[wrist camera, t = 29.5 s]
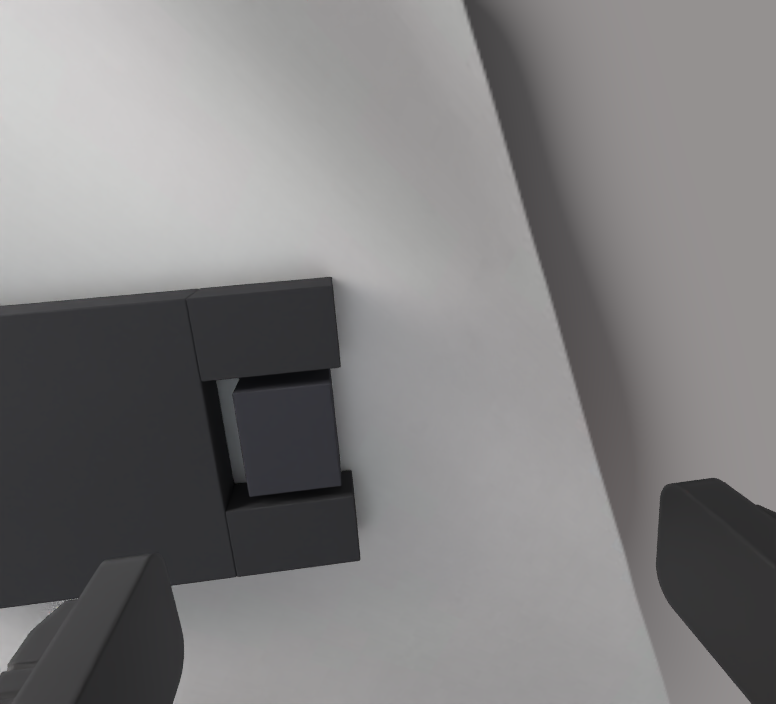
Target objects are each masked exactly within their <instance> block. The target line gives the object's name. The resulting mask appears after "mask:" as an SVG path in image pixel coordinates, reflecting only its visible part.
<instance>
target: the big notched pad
mask: <svg viewBox="0 0 776 704" xmlns="http://www.w3.org/2000/svg"><path fill="white" fill-rule="evenodd" d="M340 367H341V365H340V353H339V343H338V333H337V323H336V313H335V304H334V294H333V284H332V277H325V278H314V279H302V280H291V281H280V282H268V283H257V284H245V285H234V286H223V287H211V288H201V289H190V290H179V291H167V292H156V293H145V294H133V295H122V296H110V297H99V298H88V299H76V300H65V301H54V302H42V303H31V304H20V305H8V306H0V608H8V607H15V606H23V605H30V604H38V603H45V602H53V601H60V600H68V599H75V598H79V597H80V595H81V594H82V592H83V590H84V589H85V587H86V586H87V584H88V583H89V581H90V579H91V578H92V576H93V575H94V573H95V572H96V570H97V568H98V567H99V566H100V564H101V563H102V562H103V561H105V560H107V559H114V558H121V557H128V556H135V555H143V554H150V553H159V554H160V555H161V556H162V557H163V559H164V561H165V564H166V568H167V572H168V576H169V580H170V584H171V586H173V585H180V584H188V583H195V582H203V581H210V580H218V579H225V578H232V577H236V576H238V577H241V576H248V575H256V574H263V573H271V572H278V571H286V570H293V569H301V568H308V567H316V566H323V565H331V564H338V563H346V562H353V561H360V550H359V539H358V528H357V518H356V509H355V499H354V489H353V479H352V471H342V472H341V486H335V487H327V488H319V489H310V490H302V491H294V492H286V493H277V494H269V495H261V496H253V497H250V496H249V492H248V486H247V483H241V484H235V485H234V482H233V476H232V470H231V465H230V459H229V453H228V447H227V442H226V436H225V430H224V425H223V419H222V413H221V407H220V402H219V396H218V390H217V384H216V380H222V379H232V378H242V377H252V376H262V375H271V374H281V373H291V372H301V371H310V370H320V369H330V368H340Z"/></svg>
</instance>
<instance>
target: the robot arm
mask: <svg viewBox="0 0 776 704" xmlns="http://www.w3.org/2000/svg"><path fill="white" fill-rule="evenodd" d="M656 570H657V576H658V580H659V583H660V586H661V589H662V591H663V594H664V595H665V598H666V599H667V601H668V603H669V604H670V605H671V607H672V608H673V609H674V611H675V612H676V613H677V614H678V615H679V617H680V618H681V619H682V620H683V621H684V623H685V624H686V625H687V626H688V627H689V629H690V630H691V631H692V632H693V634H695V636H696V637H697V638H698V640H699V641H700V642H701V643H702V644H703V646H704V647H705V648H706V649H707V650H708V652H709V653H710V654H711V655H712V656H713V658H714V659H715V660H716V661H717V662H718V664H719V665H720V666H721V667H722V669H723V670H724V671H725V672H726V673H727V675H728V676H729V677H730V678H731V679H732V681H733V682H734V683H735V684H736V685H737V686H738V688H739V689H740V690H741V691H742V693H743V694H744V695H745V696H746V697H747V699H748V700H749V701H750V702H751V704H776V512H773V511H771V510H769V509H767V508H764V507H762V506H760V505H755V504H754V503H752V502H751V501H749V500H748V499H747V498H745V497H744V496H742V495H741V494H740V493H738V492H737V491H736V490H734V489H733V488H731V487H730V486H729V485H727V484H726V483H725V482H723V481H721V480H719V479H717V478H709V479H701V480H694V481H687V482H680V483H672V484H668V485H666V486H665V487H664V488H663V490H662V492H661V496H660V509H659V525H658V541H657V557H656ZM183 660H184V640H183V633H182V628H181V624H180V620H179V616H178V612H177V608H176V604H175V600H174V596H173V592H172V588H171V584H170V580H169V576H168V572H167V568H166V564H165V561H164V559H163V557H162V556H161V555H160V554H159V553H150V554H143V555H135V556H128V557H121V558H114V559H107V560H105V561H103V562H102V563H101V564H100V566H99V567H98V568H97V570H96V572H95V573H94V575H93V576H92V578H91V579H90V581H89V583H88V584H87V586H86V587H85V589H84V590H83V592H82V594H81V595H80V597H79V598H78V599H75V600H68V601H65V602H64V603H63V604H61V605H60V606H59V607H58V608H57V609H56V610H54V611H53V612H52V613H51V614H50V615H49V616H48V617H46V618H45V619H44V620H43V621H42V622H41V623H40V624H38V625H37V626H36V627H35V628H34V629H33V630H32V631H31V632H30V633H29V635H28V636H27V638H26V639H25V640H24V642H23V643H22V645H21V646H20V648H19V649H18V650H17V652H16V653H15V655H14V656H13V658H12V659H11V660H10V662H9V663H8V668H7V671H6V672H2V673H1V675H0V704H173V701H174V698H175V695H176V691H177V688H178V685H179V682H180V678H181V674H182V669H183Z"/></svg>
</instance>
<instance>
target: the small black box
mask: <svg viewBox="0 0 776 704" xmlns="http://www.w3.org/2000/svg"><path fill="white" fill-rule="evenodd" d="M232 396H233V402H234V408H235V414H236V420H237V426H238V432H239V438H240V444H241V450H242V456H243V462H244V468H245V474H246V480H247V486H248V492H249V496H250V497H253V496H261V495H269V494H277V493H286V492H294V491H302V490H310V489H319V488H327V487H335V486H341V467H340V454H339V445H338V435H337V426H336V417H335V408H334V399H333V389H332V380H331V371H330V369H320V370H310V371H301V372H291V373H281V374H271V375H262V376H252V377H242V378H240V379H239V381H238V383H237V385H236V388H235V390H234V392H233V394H232Z"/></svg>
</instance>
